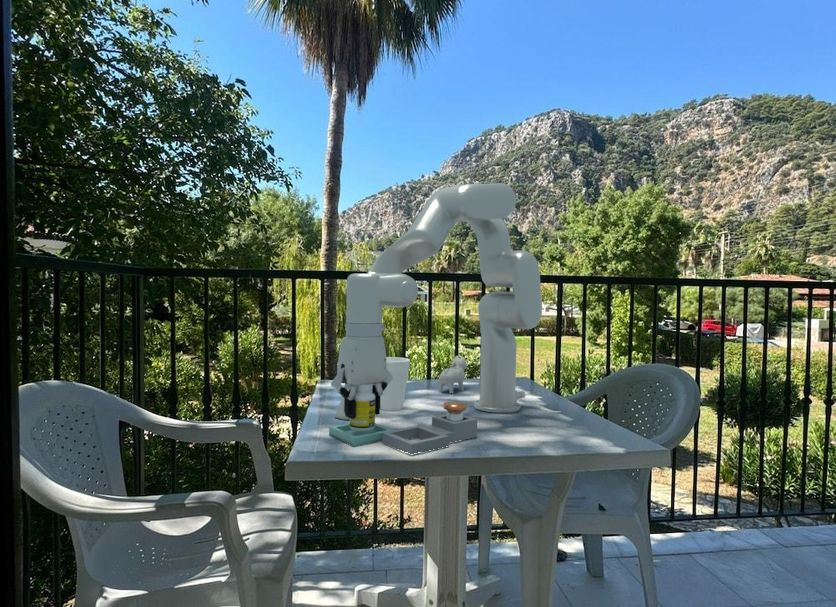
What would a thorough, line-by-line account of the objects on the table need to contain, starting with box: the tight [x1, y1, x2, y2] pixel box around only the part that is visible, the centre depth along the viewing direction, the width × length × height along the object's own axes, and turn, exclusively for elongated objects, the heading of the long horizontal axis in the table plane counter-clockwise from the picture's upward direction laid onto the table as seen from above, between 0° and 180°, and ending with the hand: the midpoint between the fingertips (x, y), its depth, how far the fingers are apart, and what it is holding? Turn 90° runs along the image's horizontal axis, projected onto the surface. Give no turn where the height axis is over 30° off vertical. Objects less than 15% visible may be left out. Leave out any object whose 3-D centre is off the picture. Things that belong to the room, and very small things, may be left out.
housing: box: [381, 413, 478, 454], centre depth 110 cm, size 19×10×4 cm, turn 129°
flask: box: [334, 396, 350, 421], centre depth 129 cm, size 7×7×10 cm
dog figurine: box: [438, 355, 468, 393], centre depth 164 cm, size 5×13×11 cm, turn 147°
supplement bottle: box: [349, 384, 376, 431], centre depth 112 cm, size 5×5×10 cm
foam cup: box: [380, 356, 411, 412], centre depth 139 cm, size 10×9×13 cm
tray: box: [328, 422, 394, 447], centre depth 112 cm, size 10×10×2 cm
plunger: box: [443, 400, 467, 422], centre depth 114 cm, size 5×5×7 cm
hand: (362, 414), depth 112 cm, fingers closed on supplement bottle, 5 cm apart
